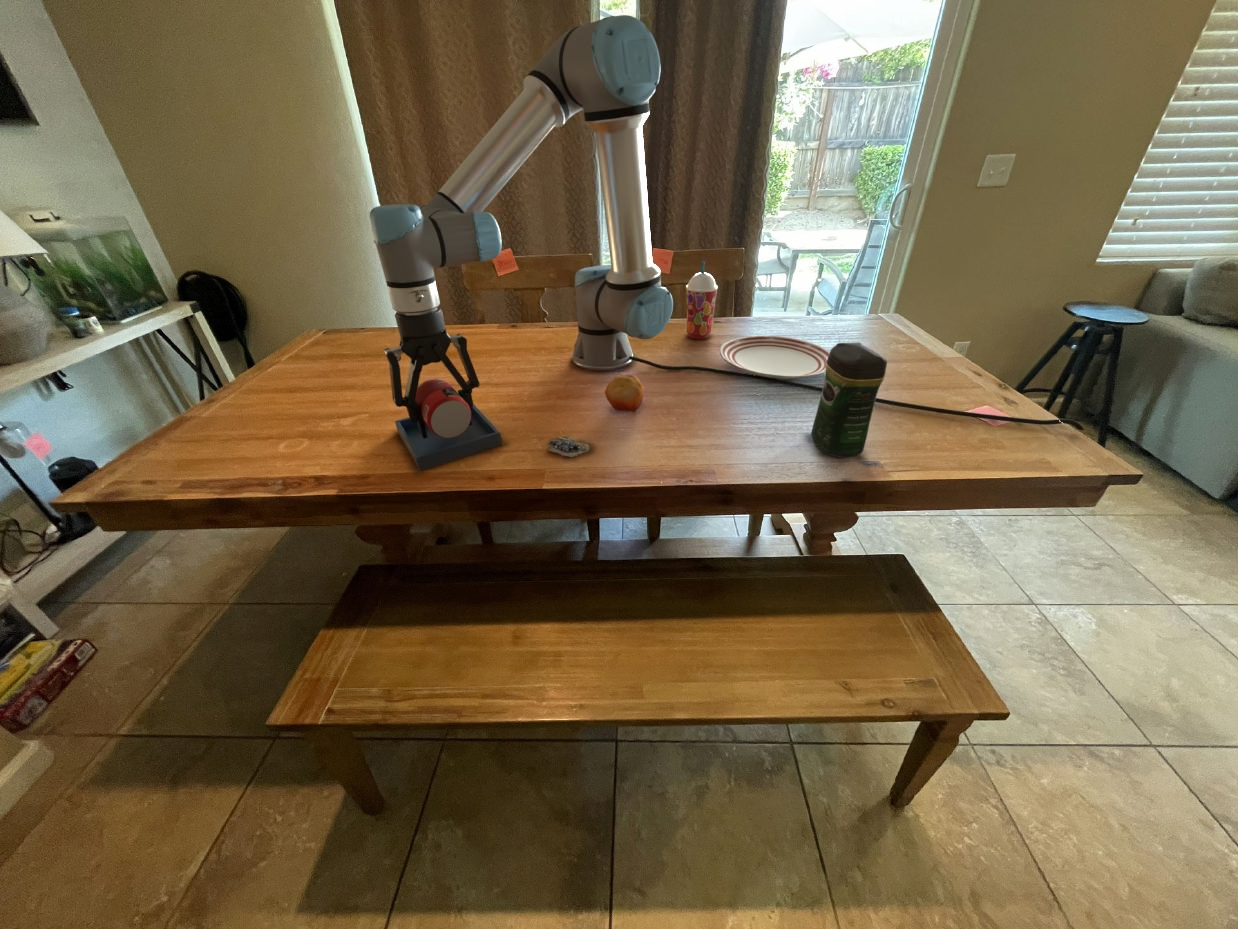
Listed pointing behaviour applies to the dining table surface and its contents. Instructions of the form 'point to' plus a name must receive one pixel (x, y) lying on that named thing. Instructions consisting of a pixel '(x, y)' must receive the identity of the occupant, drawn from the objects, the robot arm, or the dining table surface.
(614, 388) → the fruit
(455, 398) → the canned food
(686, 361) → the dining table surface
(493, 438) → the tray
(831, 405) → the coffee jar
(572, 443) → the grey mineral rock
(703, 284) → the smoothie
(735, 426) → the dining table surface
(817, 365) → the dinner plate
